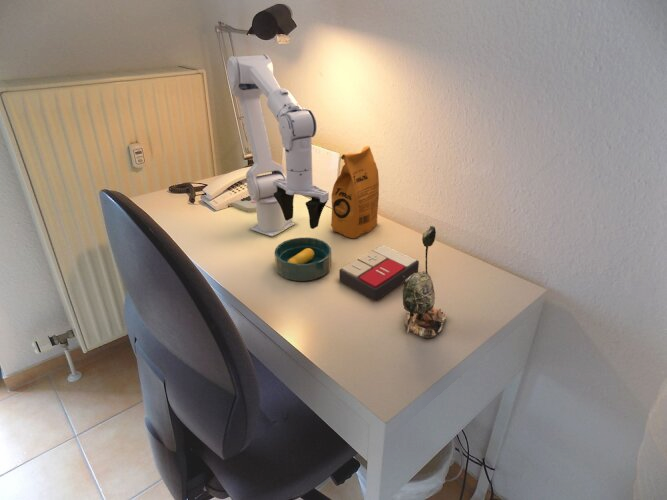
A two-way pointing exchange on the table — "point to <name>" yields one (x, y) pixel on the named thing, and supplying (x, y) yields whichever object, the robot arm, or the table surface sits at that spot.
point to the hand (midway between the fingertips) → (301, 222)
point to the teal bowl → (303, 271)
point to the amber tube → (302, 257)
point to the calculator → (378, 271)
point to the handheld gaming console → (245, 204)
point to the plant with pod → (422, 298)
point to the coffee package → (356, 195)
